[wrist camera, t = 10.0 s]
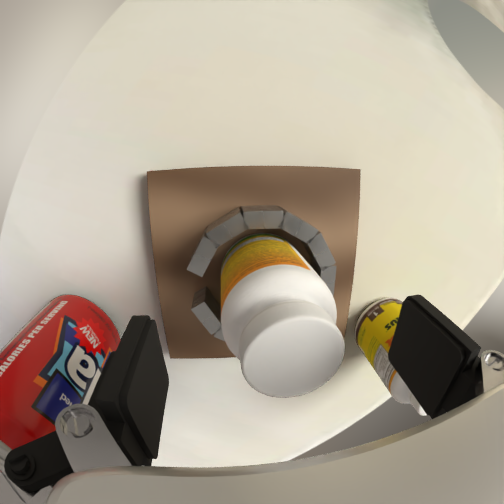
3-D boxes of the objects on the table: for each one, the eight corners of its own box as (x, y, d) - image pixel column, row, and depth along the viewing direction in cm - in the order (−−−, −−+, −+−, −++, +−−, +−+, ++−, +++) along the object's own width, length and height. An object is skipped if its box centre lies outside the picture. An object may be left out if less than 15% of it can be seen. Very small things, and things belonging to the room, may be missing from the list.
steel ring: (187, 208, 17) (182, 214, 15) (326, 204, 18) (340, 210, 16) (198, 332, 20) (196, 351, 18) (317, 324, 21) (327, 341, 18)
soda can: (46, 279, 19) (-69, 385, 4) (126, 302, 20) (39, 464, 6) (54, 351, 21) (-17, 462, 6) (125, 375, 22) (79, 515, 8)
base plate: (151, 171, 17) (146, 171, 16) (352, 169, 19) (360, 169, 18) (172, 349, 21) (170, 358, 20) (337, 338, 23) (342, 346, 22)
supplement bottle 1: (203, 275, 19) (190, 372, 9) (258, 214, 18) (297, 265, 9) (263, 319, 20) (291, 423, 11) (315, 265, 19) (385, 345, 10)
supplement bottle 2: (409, 292, 22) (483, 352, 13) (395, 343, 24) (452, 410, 14) (358, 296, 22) (428, 372, 12) (346, 351, 23) (396, 433, 14)
